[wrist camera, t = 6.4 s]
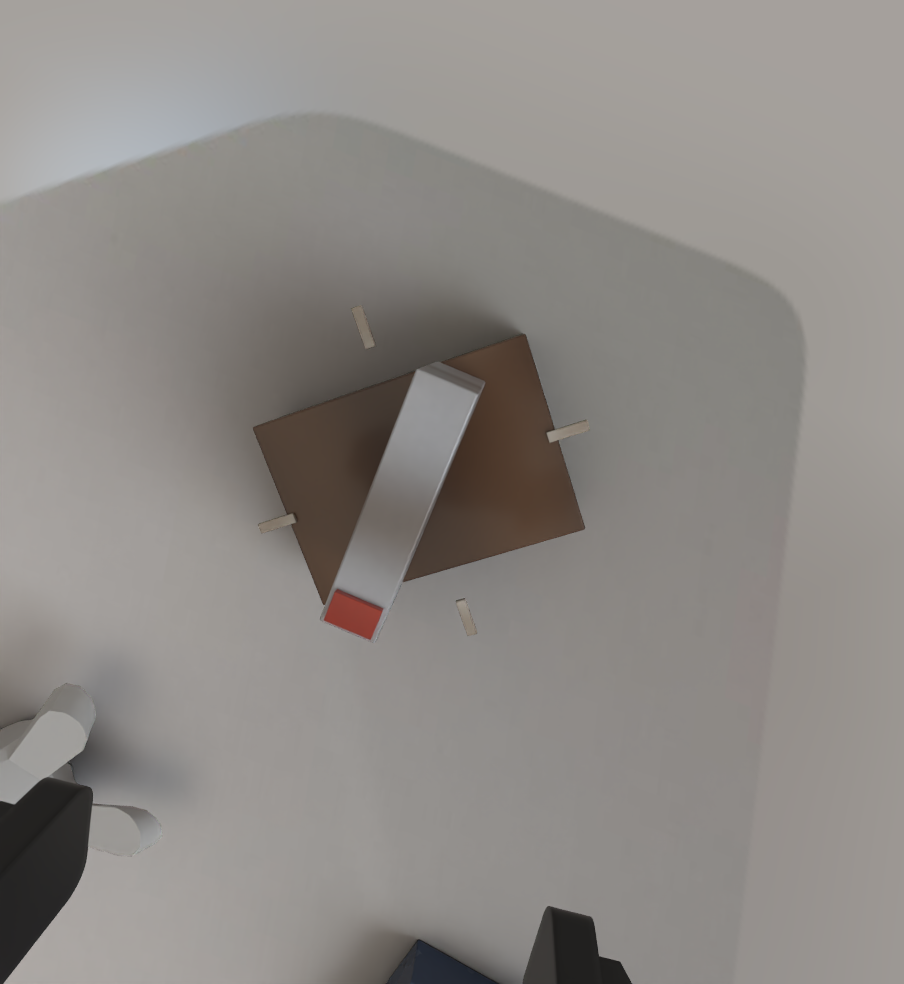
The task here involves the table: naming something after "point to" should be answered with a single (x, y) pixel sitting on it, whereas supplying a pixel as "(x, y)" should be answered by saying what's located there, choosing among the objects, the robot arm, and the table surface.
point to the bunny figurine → (68, 768)
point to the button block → (434, 969)
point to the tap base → (468, 485)
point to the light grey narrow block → (401, 498)
